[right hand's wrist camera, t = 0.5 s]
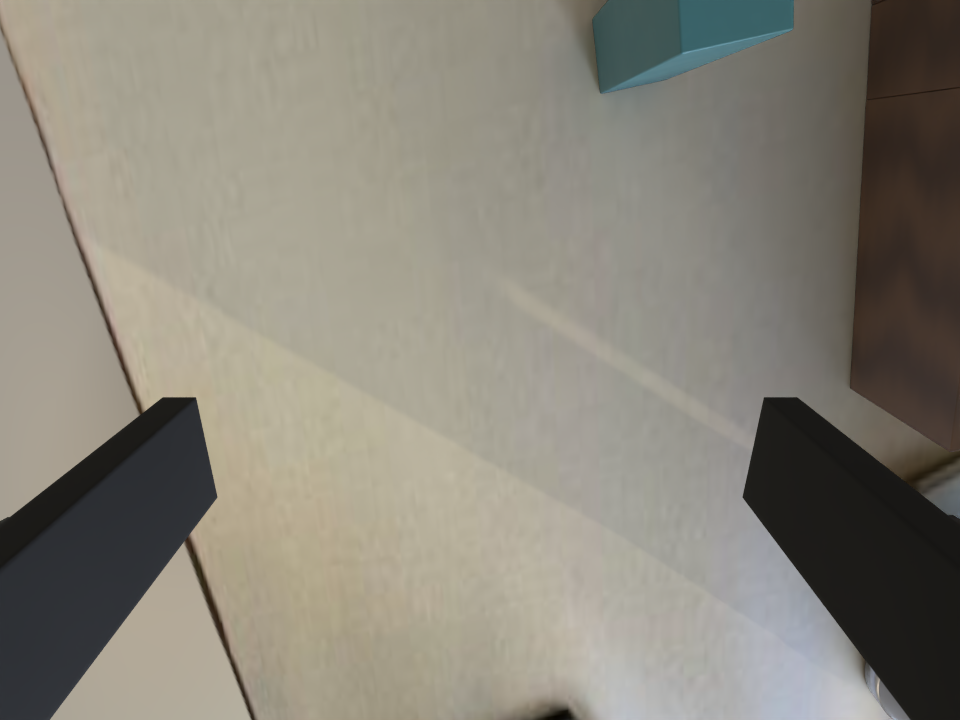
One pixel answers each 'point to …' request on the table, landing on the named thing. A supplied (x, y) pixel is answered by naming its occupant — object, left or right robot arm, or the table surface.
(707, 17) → the peg
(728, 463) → the table surface
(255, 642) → the table surface
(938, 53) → the hole block
